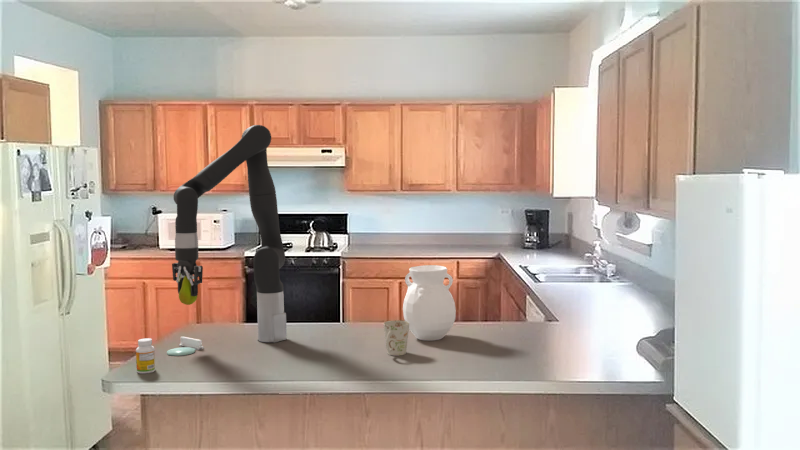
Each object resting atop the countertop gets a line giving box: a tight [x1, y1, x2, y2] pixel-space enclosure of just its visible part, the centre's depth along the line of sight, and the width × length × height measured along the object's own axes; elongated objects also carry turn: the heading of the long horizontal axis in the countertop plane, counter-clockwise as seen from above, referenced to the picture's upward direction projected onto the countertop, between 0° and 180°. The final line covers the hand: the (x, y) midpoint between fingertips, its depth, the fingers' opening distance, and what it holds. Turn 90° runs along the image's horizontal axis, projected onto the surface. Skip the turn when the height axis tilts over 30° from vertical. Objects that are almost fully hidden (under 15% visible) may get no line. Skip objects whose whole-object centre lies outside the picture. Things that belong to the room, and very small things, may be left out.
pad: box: [166, 346, 196, 357], centre depth 250 cm, size 9×9×1 cm
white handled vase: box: [402, 264, 457, 342], centre depth 266 cm, size 19×18×25 cm
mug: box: [383, 320, 410, 357], centre depth 243 cm, size 8×13×10 cm, turn 161°
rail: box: [178, 335, 205, 351], centre depth 257 cm, size 10×2×3 cm, turn 54°
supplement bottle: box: [135, 337, 156, 375], centre depth 227 cm, size 5×5×10 cm
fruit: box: [178, 276, 198, 306], centre depth 256 cm, size 6×6×12 cm
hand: (187, 294), depth 256 cm, fingers closed on fruit, 6 cm apart
